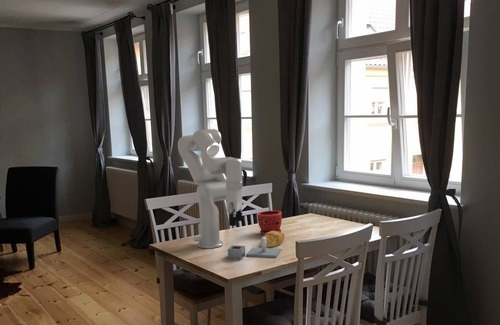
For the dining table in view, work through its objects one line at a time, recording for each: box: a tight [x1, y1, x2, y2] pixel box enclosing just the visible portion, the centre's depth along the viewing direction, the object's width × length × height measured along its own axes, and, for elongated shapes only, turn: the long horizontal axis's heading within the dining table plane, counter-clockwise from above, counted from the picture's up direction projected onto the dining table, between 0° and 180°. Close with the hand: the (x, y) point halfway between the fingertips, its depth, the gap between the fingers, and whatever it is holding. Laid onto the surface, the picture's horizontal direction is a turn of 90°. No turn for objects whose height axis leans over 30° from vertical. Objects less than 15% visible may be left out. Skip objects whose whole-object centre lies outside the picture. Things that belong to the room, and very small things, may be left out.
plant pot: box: [256, 210, 283, 236], centre depth 247 cm, size 13×13×12 cm
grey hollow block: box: [227, 244, 246, 261], centre depth 208 cm, size 6×6×4 cm
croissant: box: [259, 231, 285, 248], centre depth 228 cm, size 21×10×8 cm, turn 146°
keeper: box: [245, 236, 282, 259], centre depth 212 cm, size 14×11×8 cm
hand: (235, 223), depth 206 cm, fingers open, 9 cm apart
